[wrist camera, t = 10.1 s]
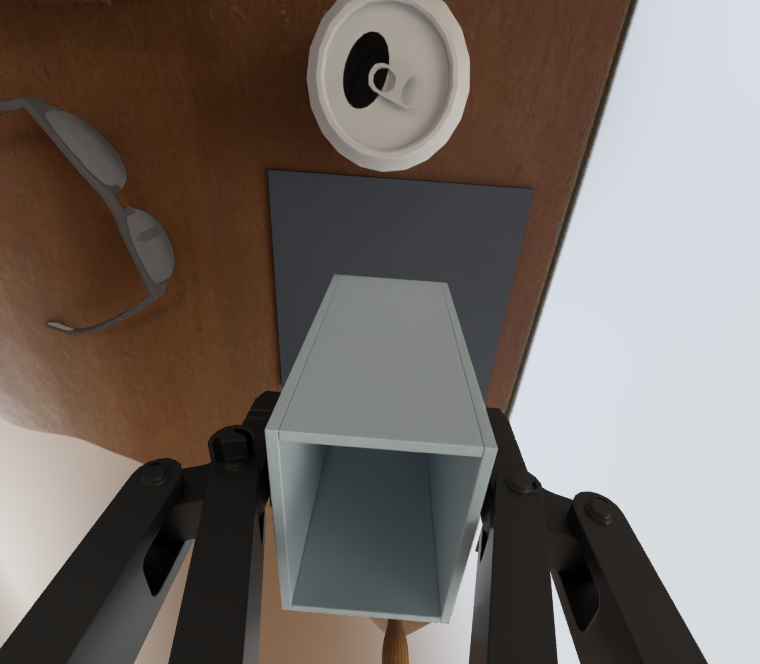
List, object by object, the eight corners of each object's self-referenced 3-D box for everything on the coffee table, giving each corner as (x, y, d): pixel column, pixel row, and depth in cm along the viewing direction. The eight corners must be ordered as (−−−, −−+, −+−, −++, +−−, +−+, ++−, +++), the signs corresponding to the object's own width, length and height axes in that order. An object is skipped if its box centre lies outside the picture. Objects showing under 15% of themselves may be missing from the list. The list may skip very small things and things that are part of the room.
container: (447, 282, 17) (498, 448, 8) (428, 408, 20) (449, 624, 11) (334, 273, 17) (263, 430, 8) (332, 400, 20) (281, 610, 12)
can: (360, 9, 25) (330, -79, 14) (465, 61, 26) (512, 16, 15) (323, 132, 28) (277, 135, 17) (418, 174, 29) (429, 201, 18)
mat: (269, 169, 29) (267, 169, 29) (533, 188, 29) (534, 189, 29) (283, 384, 39) (282, 387, 38) (483, 400, 39) (483, 403, 38)
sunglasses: (209, 284, 34) (174, 309, 30) (75, 327, 39) (29, 355, 35) (84, 71, 27) (15, 65, 23) (-60, 157, 32) (-139, 165, 28)
